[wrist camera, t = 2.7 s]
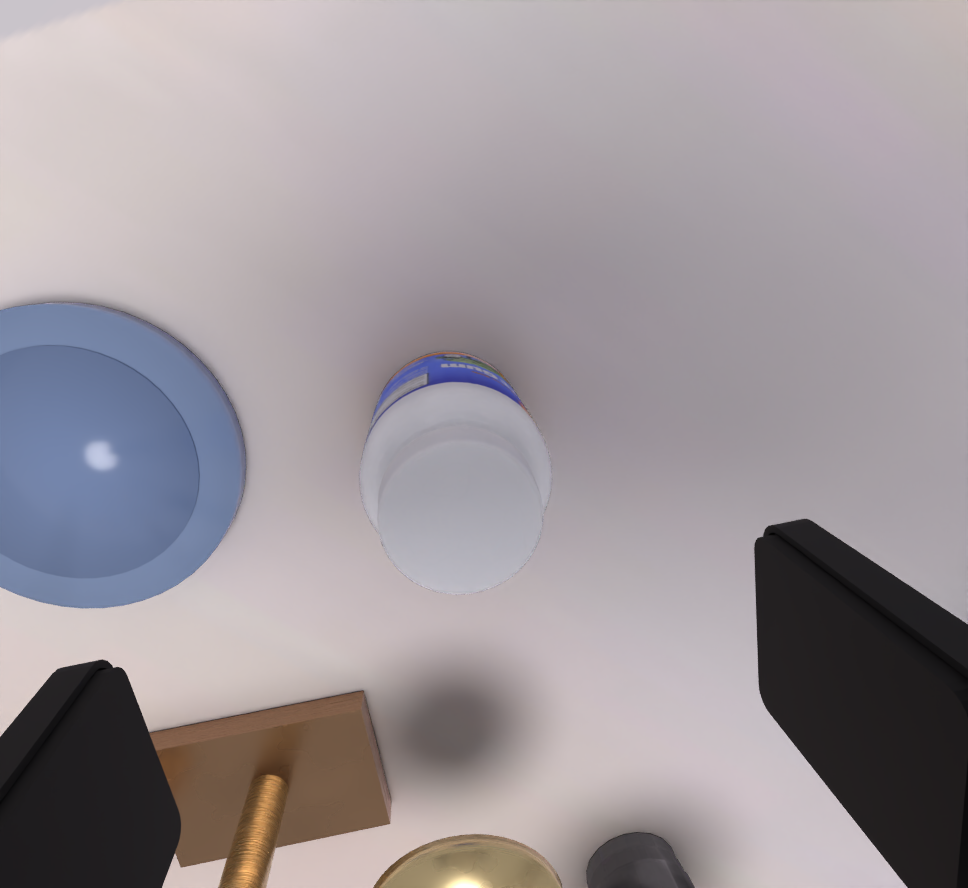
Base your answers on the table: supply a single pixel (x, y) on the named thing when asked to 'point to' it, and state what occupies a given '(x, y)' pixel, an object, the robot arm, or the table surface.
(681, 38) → the table surface
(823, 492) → the table surface
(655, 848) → the beverage cup
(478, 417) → the pill bottle
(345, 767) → the balance
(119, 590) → the dish
